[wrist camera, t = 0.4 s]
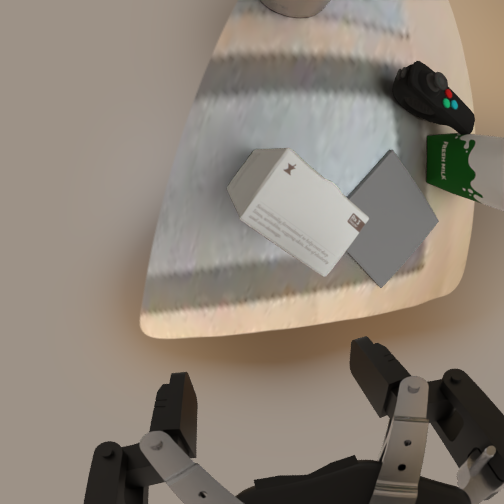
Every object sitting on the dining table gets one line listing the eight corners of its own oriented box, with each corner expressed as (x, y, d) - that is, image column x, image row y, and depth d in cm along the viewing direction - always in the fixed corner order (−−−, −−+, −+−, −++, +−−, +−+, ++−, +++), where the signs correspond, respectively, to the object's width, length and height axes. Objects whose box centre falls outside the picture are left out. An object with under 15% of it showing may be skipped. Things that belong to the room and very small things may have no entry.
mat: (389, 149, 31) (392, 150, 30) (435, 219, 36) (438, 221, 35) (321, 225, 34) (323, 226, 33) (378, 285, 38) (381, 288, 38)
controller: (381, 68, 27) (427, 51, 18) (442, 115, 30) (490, 115, 20) (373, 92, 28) (420, 80, 19) (436, 138, 31) (485, 143, 22)
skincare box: (225, 188, 31) (228, 219, 17) (256, 145, 30) (285, 142, 16) (282, 227, 34) (323, 284, 20) (312, 188, 32) (374, 219, 18)
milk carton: (422, 128, 30) (539, 139, 12) (460, 137, 31) (562, 154, 13) (421, 188, 34) (532, 230, 15) (458, 190, 34) (556, 227, 16)
